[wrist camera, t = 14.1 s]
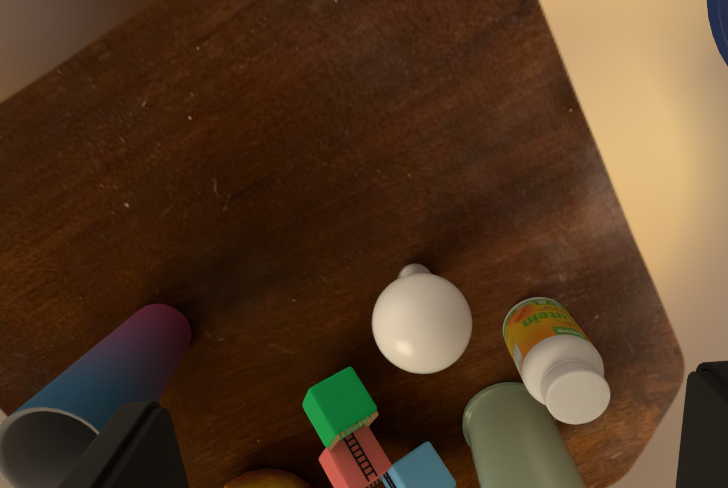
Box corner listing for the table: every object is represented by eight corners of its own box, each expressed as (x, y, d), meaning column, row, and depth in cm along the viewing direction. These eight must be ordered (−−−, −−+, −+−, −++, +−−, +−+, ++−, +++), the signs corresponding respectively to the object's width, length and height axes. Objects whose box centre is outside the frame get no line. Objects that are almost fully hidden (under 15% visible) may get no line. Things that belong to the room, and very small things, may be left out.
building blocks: (368, 376, 49) (443, 496, 45) (291, 420, 46) (366, 555, 41) (390, 342, 43) (480, 478, 39) (304, 390, 39) (393, 546, 35)
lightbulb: (361, 296, 42) (355, 373, 31) (392, 225, 40) (395, 281, 29) (435, 324, 42) (452, 408, 32) (468, 255, 40) (499, 320, 30)
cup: (219, 343, 43) (140, 477, 29) (156, 380, 45) (51, 525, 30) (167, 278, 42) (57, 386, 27) (103, 318, 43) (-34, 442, 29)
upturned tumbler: (554, 378, 44) (615, 488, 32) (553, 455, 46) (610, 582, 35) (459, 384, 44) (487, 495, 33) (463, 460, 46) (490, 588, 35)
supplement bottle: (567, 290, 41) (621, 354, 32) (571, 350, 43) (624, 427, 33) (497, 301, 41) (531, 367, 32) (505, 360, 43) (538, 439, 34)
